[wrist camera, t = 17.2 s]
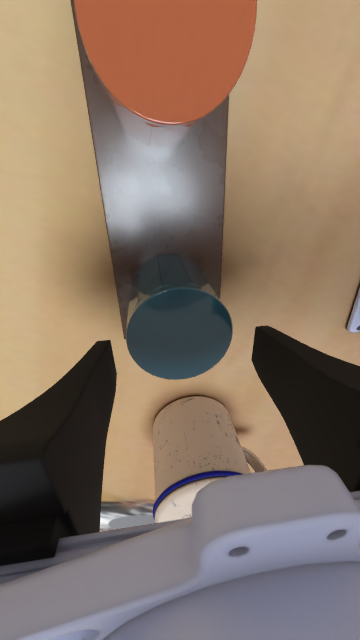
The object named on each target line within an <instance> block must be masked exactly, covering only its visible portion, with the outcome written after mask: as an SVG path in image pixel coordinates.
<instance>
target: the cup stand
mask: <svg viewBox="0 0 360 640" xmlns="http://www.w3.org/2000/svg"><path fill="white" fill-rule="evenodd" d="M71 6H72V12H73V18H74V25H75V31H76V37H77V44H78V50H79V56H80V62H81V69H82V75H83V81H84V88H85V94H86V100H87V107H88V113H89V119H90V126H91V132H92V138H93V144H94V151H95V157H96V163H97V170H98V176H99V182H100V189H101V195H102V201H103V207H104V214H105V220H106V226H107V233H108V239H109V245H110V252H111V258H112V264H113V270H114V277H115V283H116V289H117V296H118V302H119V308H120V315H121V321H122V327H123V333H124V339H126V330H127V326H126V325H127V317H128V308H129V300H130V292H131V284H132V281H133V279H134V277H135V275H136V273H137V270H138V268H139V267H140V266H141V265H142V264H144V263H145V262H147V261H148V260H150V259H151V258H153V257H154V256H156V255H160V254H176V253H177V254H180V255H182V256H184V257H186V258H188V259H190V260H192V261H194V262H195V263H196V264H197V266H198V267H199V269H200V270H201V272H202V273H203V275H204V276H205V278H206V279H207V281H208V282H209V284H210V285H211V287H212V288H213V290H214V291H215V293H216V294H217V296H218V298H219V299H220V286H221V263H222V240H223V218H224V195H225V172H226V150H227V127H228V105H229V95H228V96H227V97H226V99H225V100H224V101H223V103H222V104H221V105H220V106H219V107H218V108H217V109H216V110H215V111H214V112H213V113H212V114H211V115H210V116H209V117H208V118H207V119H206V120H205V121H204V122H203V123H202V124H201V125H200V126H199V127H198V128H197V129H196V130H195V131H194V132H193V133H192V134H190V135H189V136H188V137H186V138H185V139H184V140H182V141H181V142H180V143H178V144H177V145H175V146H173V147H147V146H146V145H144V144H143V143H141V142H139V141H138V140H136V139H135V138H133V137H132V136H130V135H128V134H127V133H126V132H125V131H124V130H123V128H122V126H121V125H120V123H119V121H118V120H117V118H116V116H115V115H114V113H113V111H112V109H111V108H110V106H109V104H108V102H107V100H106V97H105V95H104V93H103V90H102V88H101V86H100V84H99V81H98V79H97V77H96V75H95V72H94V70H93V68H92V65H91V63H90V61H89V59H88V56H87V53H86V51H85V47H84V44H83V41H82V38H81V34H80V31H79V28H78V23H77V18H76V13H75V6H74V0H71Z"/></svg>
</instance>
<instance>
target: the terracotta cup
mask: <svg viewBox="0 0 360 640" xmlns="http://www.w3.org/2000/svg"><path fill="white" fill-rule="evenodd" d="M74 6H75V13H76V18H77V23H78V28H79V31H80V34H81V38H82V41H83V44H84V47H85V51H86V53H87V56H88V59H89V61H90V63H91V65H92V68H93V70H94V72H95V75H96V77H97V79H98V81H99V84H100V86H101V88H102V90H103V93H104V95H105V97H106V100H107V102H108V104H109V106H110V108H111V109H112V111H113V113H114V115H115V116H116V118H117V120H118V121H119V123H120V125H121V126H122V128H123V130H124V131H125V132H126V133H127V134H128V135H130V136H132V137H133V138H135V139H136V140H138V141H139V142H141V143H143V144H144V145H146V146H147V147H173V146H175V145H177V144H178V143H180V142H181V141H182V140H184V139H185V138H186V137H188V136H189V135H190V134H192V133H193V132H194V131H195V130H196V129H197V128H198V127H199V126H200V125H201V124H202V123H203V122H204V121H205V120H206V119H207V118H208V117H209V116H210V115H211V114H212V113H213V112H214V111H215V110H216V109H217V108H218V107H219V106H220V105H221V104H222V103H223V101H224V100H225V99H226V97H227V96H228V95H229V93H230V92H231V90H232V89H233V87H234V86H235V84H236V83H237V81H238V79H239V77H240V75H241V73H242V71H243V69H244V66H245V64H246V61H247V59H248V55H249V52H250V49H251V45H252V41H253V36H254V31H255V22H256V11H257V0H74Z"/></svg>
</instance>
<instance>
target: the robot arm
mask: <svg viewBox="0 0 360 640" xmlns="http://www.w3.org/2000/svg"><path fill="white" fill-rule="evenodd" d="M347 330H348V331H350V332H351V333H354V332H360V288H359V291H358V294H357V297H356V301H355V304H354V307H353V310H352V313H351V316H350V320H349V323H348V326H347ZM252 362H253V364H254V367H255V369H256V372H257V374H258V376H259V378H260V380H261V382H262V383H263V385H264V387H265V388H266V390H267V392H268V393H269V395H270V397H271V398H272V400H273V402H274V403H275V405H276V407H277V408H278V410H279V411H280V413H281V415H282V417H283V419H284V421H285V423H286V425H287V427H288V429H289V431H290V433H291V436H292V438H293V440H294V442H295V445H296V447H297V449H298V452H299V454H300V456H301V458H302V461H303V463H304V465H303V466H297V467H290V468H283V469H276V470H269V471H262V472H255V473H248V474H242V475H235V476H228V477H225V478H222V479H218V480H215V481H212V482H210V483H209V484H208V485H206V486H205V487H203V488H202V489H201V490H199V491H198V493H197V494H196V496H195V499H194V501H193V503H192V517H190V518H185V519H179V520H172V521H166V522H160V523H154V524H147V525H141V526H135V527H129V528H122V529H116V530H109V531H103V532H99V530H100V511H101V495H102V481H103V468H104V457H105V446H106V439H107V432H108V427H109V422H110V418H111V413H112V408H113V402H114V397H115V392H116V376H117V373H116V368H115V363H114V357H113V352H112V347H111V341H110V340H105V341H97V342H96V343H95V344H94V345H93V346H92V347H91V349H90V350H89V351H88V352H87V353H86V354H85V355H84V356H83V357H82V359H81V360H80V361H79V362H78V363H77V364H76V365H75V366H74V367H73V368H72V369H71V370H70V371H69V372H68V373H67V374H66V375H65V376H63V377H62V378H61V379H60V380H59V381H58V382H57V383H56V384H54V385H53V386H52V387H51V388H49V389H48V390H47V391H46V392H44V393H43V394H42V395H40V396H39V397H37V398H36V399H34V400H33V401H32V402H30V403H29V404H27V405H26V406H24V407H23V408H21V409H20V410H18V411H16V412H15V413H13V414H11V415H10V416H8V417H6V418H5V419H3V420H1V421H0V640H360V366H357V365H354V364H351V363H348V362H345V361H343V360H340V359H337V358H335V357H332V356H329V355H327V354H325V353H322V352H320V351H318V350H316V349H314V348H311V347H309V346H307V345H305V344H303V343H301V342H299V341H297V340H295V339H293V338H291V337H289V336H288V335H286V334H284V333H282V332H280V331H278V330H276V329H274V328H272V327H269V326H258V327H256V328H255V336H254V344H253V353H252Z"/></svg>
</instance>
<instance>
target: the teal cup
mask: <svg viewBox="0 0 360 640" xmlns="http://www.w3.org/2000/svg"><path fill="white" fill-rule="evenodd" d="M126 326H127V330H126V343H127V347H128V350H129V353H130V355H131V356H132V358H133V360H134V361H135V362H136V363H137V364H138V365H139V366H140V367H141V368H142V369H143V370H145V371H146V372H148V373H150V374H152V375H154V376H157V377H160V378H165V379H175V380H177V379H186V378H191V377H195V376H197V375H200V374H202V373H204V372H206V371H208V370H209V369H211V368H212V367H213V366H215V365H216V364H217V363H218V362H219V361H220V360H221V359H222V357H223V356H224V355H225V353H226V352H227V350H228V348H229V345H230V342H231V339H232V321H231V317H230V315H229V313H228V310H227V309H226V307H225V306H224V304H223V303H222V302H221V300H220V299H219V298H218V296H217V294H216V293H215V291H214V290H213V288H212V287H211V285H210V284H209V282H208V281H207V279H206V278H205V276H204V275H203V273H202V272H201V270H200V269H199V267H198V266H197V264H196V263H195V262H194V261H192V260H190V259H188V258H186V257H184V256H182V255H180V254H177V253H176V254H160V255H156V256H154V257H153V258H151V259H150V260H148V261H147V262H145V263H144V264H142V265H141V266H140V267H139V268H138V270H137V273H136V275H135V277H134V279H133V281H132V284H131V292H130V300H129V308H128V317H127V325H126Z"/></svg>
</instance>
